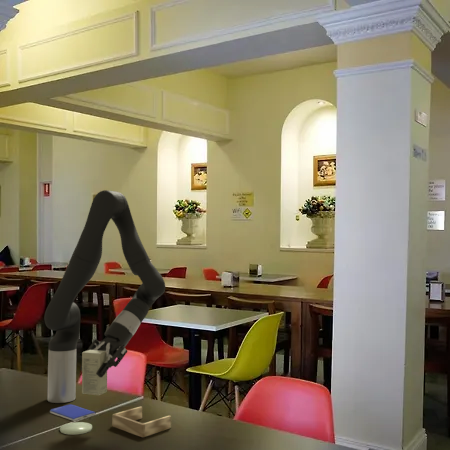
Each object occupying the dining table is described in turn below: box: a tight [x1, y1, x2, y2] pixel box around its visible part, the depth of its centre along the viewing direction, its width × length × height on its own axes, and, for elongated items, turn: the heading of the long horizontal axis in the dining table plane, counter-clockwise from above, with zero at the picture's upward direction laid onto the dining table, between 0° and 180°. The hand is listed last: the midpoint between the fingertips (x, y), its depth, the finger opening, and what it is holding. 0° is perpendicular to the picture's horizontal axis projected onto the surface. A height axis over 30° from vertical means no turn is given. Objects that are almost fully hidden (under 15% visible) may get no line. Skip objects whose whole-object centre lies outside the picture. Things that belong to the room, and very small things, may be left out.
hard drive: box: [49, 404, 96, 422], centre depth 176 cm, size 2×8×12 cm
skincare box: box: [81, 349, 108, 396], centre depth 164 cm, size 6×4×12 cm
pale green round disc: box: [59, 421, 93, 436], centre depth 162 cm, size 9×9×1 cm
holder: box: [111, 405, 172, 438], centre depth 165 cm, size 11×14×4 cm
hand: (90, 373), depth 163 cm, fingers closed on skincare box, 7 cm apart
